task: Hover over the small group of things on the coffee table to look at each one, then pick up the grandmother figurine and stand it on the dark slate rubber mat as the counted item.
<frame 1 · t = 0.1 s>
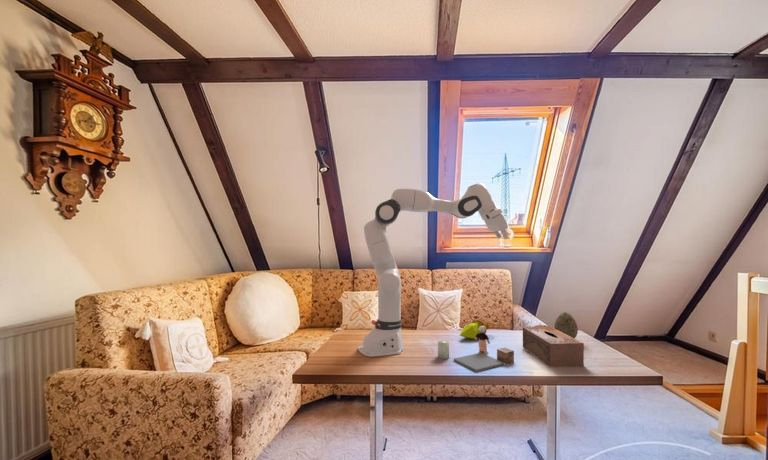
hand: (503, 238, 169), 54 cm above the table, fingers open, 8 cm apart
walnut block: (505, 361, 152), on the table
plumb bob: (476, 337, 187), on the table
decorative egg: (565, 341, 180), on the table
tissue box cover: (550, 356, 159), on the table
slate mat: (478, 362, 150), on the table
grandmother figurine: (482, 352, 163), on the table
sage green capsule: (443, 357, 157), on the table
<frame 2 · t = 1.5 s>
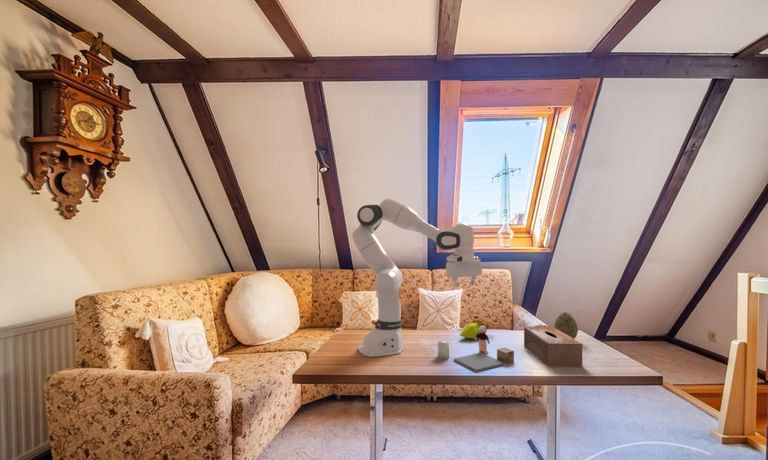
hand: (464, 285, 166), 31 cm above the table, fingers open, 8 cm apart
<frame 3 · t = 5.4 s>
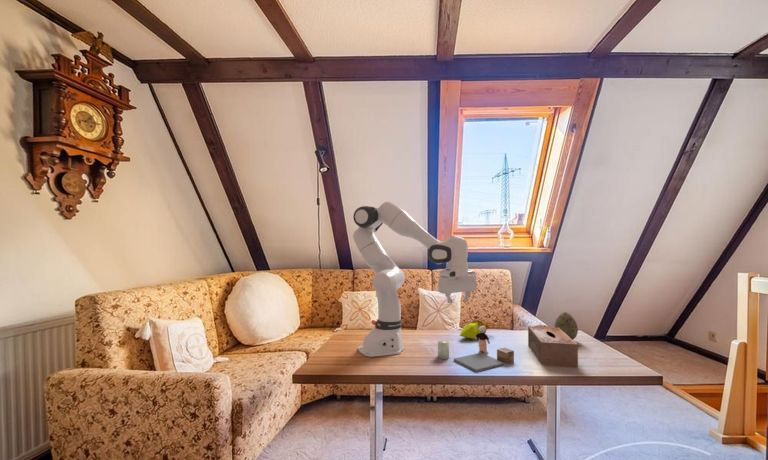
hand: (458, 301, 158), 25 cm above the table, fingers open, 8 cm apart
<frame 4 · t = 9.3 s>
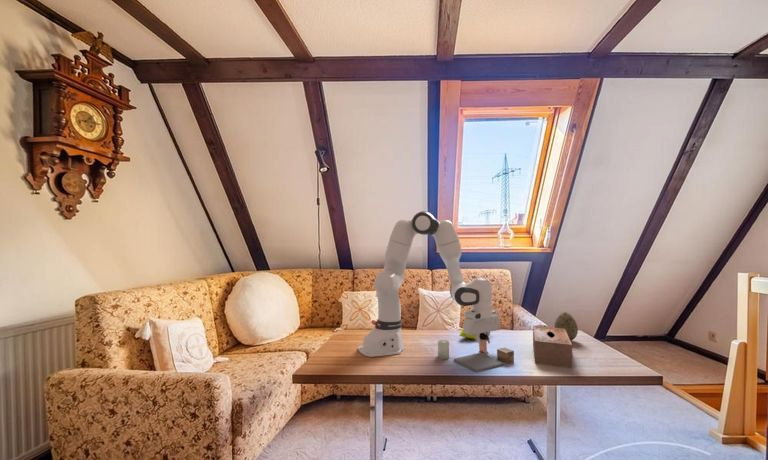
hand: (482, 341, 163), 5 cm above the table, fingers closed on grandmother figurine, 3 cm apart
grandmother figurine: (482, 352, 163), on the table, touching gripper
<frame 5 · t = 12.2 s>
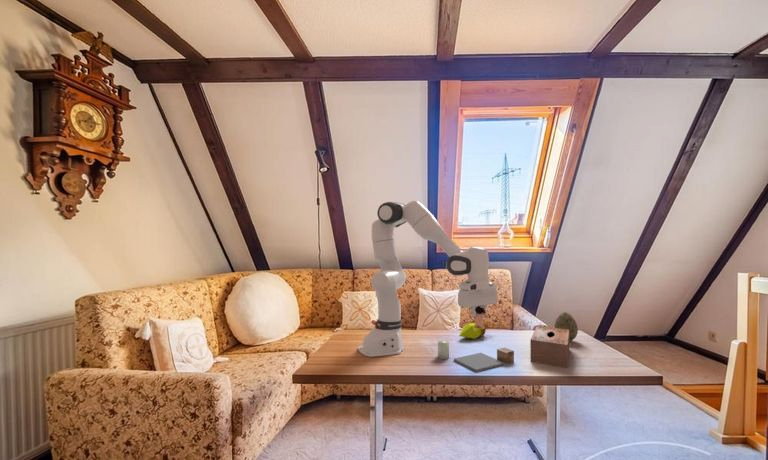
hand: (478, 315, 150), 21 cm above the table, fingers closed on grandmother figurine, 3 cm apart
grandmother figurine: (478, 328, 150), point 15 cm above the table, touching gripper
when the fingers open (8 cm above the table, at t = 15.3 s): grandmother figurine drops 1 cm, resting on slate mat.
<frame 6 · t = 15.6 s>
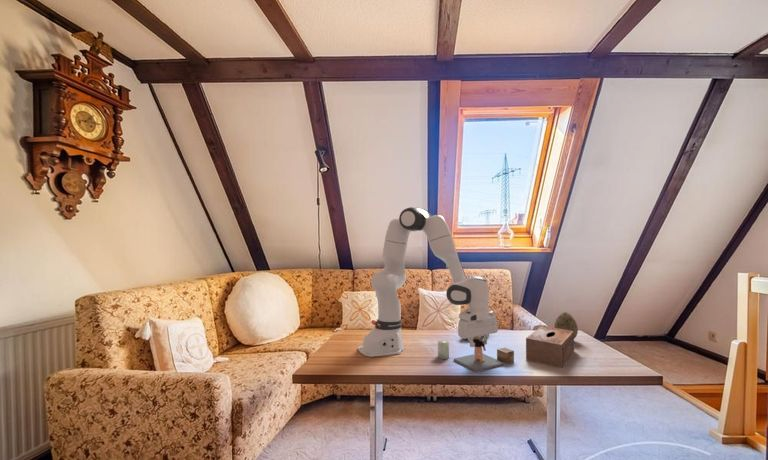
hand: (478, 345, 150), 8 cm above the table, fingers open, 5 cm apart
grandmother figurine: (478, 360, 150), point 1 cm above the table, touching slate mat
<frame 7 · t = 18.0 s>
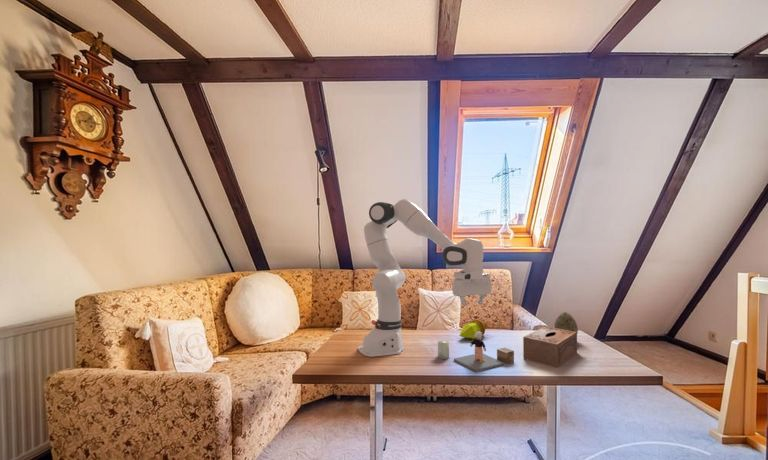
hand: (472, 304, 155), 24 cm above the table, fingers open, 8 cm apart
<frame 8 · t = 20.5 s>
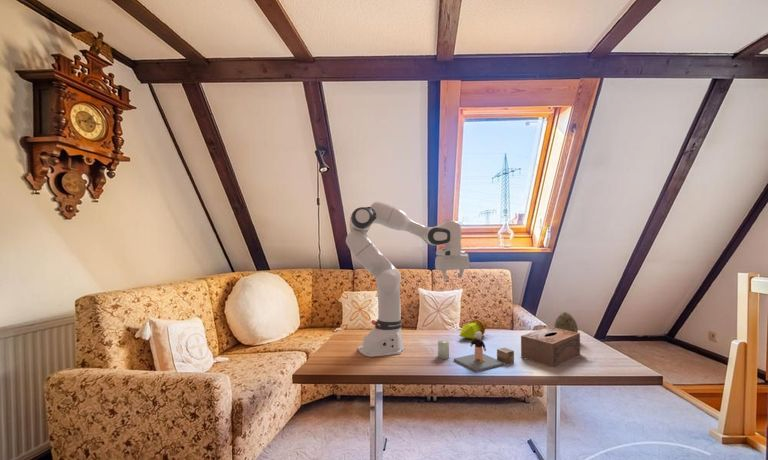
hand: (452, 278, 178), 33 cm above the table, fingers open, 8 cm apart
at the end: grandmother figurine inside the target area on the slate mat (0.1 cm from its centre), point 0.8 cm above the slate mat's base; grandmother figurine tilted 0°; the gripper is holding nothing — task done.
